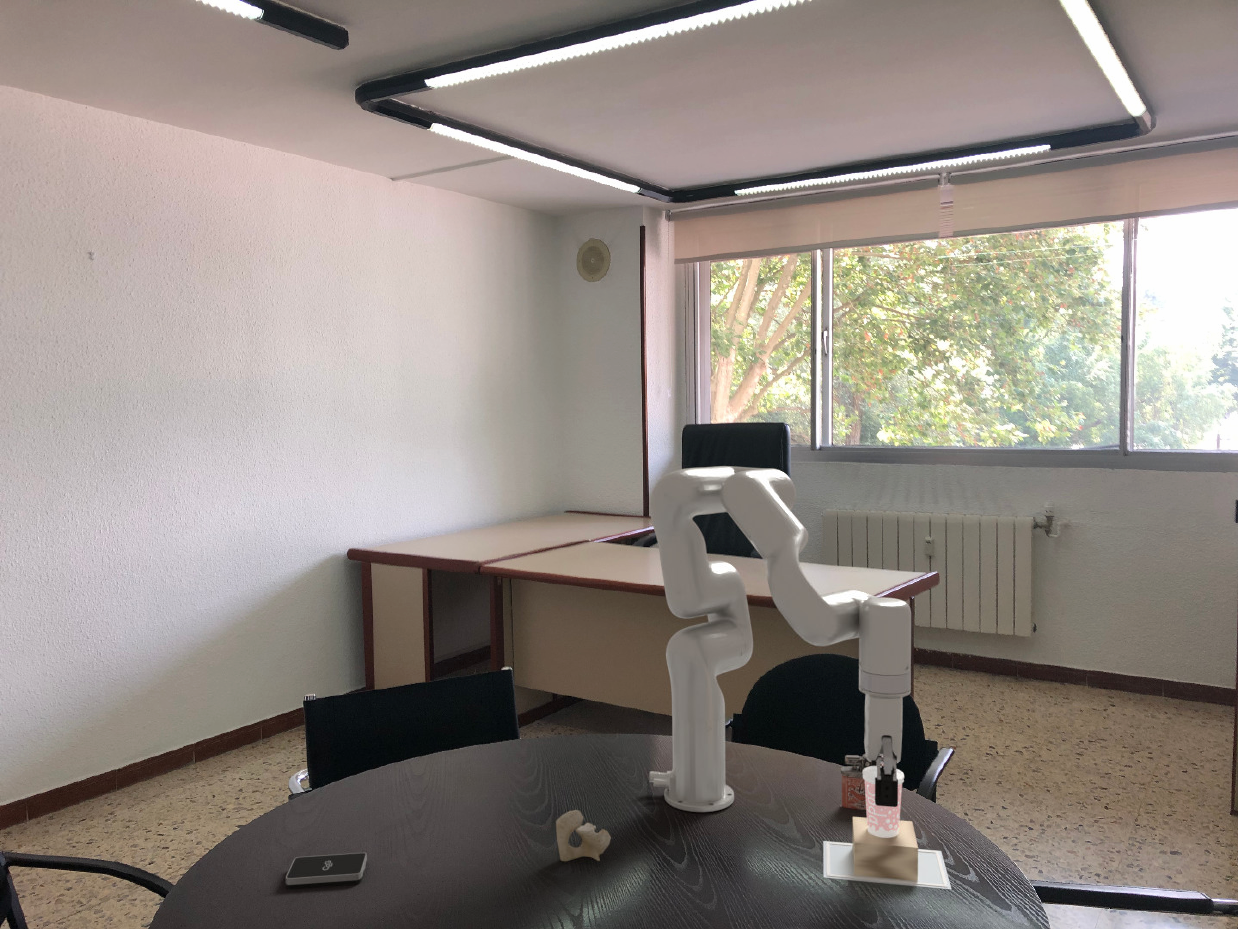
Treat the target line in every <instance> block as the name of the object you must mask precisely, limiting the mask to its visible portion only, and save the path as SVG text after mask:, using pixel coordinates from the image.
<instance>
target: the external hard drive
mask: <svg viewBox="0 0 1238 929" xmlns="http://www.w3.org/2000/svg"><path fill="white" fill-rule="evenodd" d="M367 857H368V856H367V852H351V853H338V854H325V855H322V854H321V855H310V856H309V855H308V856H307V855H306V856H297V857H295V858H294V859H293V861H292V863H291V865H290V867H289V869H288V872H287V873H286V876H285V887H286V889H288V890H295V889H297V890H298V889H311V888H322V887H323V888H325V887H335V886H339V887H340V886H350V885H352V886H353V885H359V884H361V882H362V880H363V877H364V874H365V870H366V866H367V862H368V858H367Z"/></svg>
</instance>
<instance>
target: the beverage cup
mask: <svg viewBox="0 0 1238 929" xmlns="http://www.w3.org/2000/svg"><path fill="white" fill-rule="evenodd" d="M882 757H883V756H882ZM882 766H883V764H882ZM882 766H881V767H882ZM896 771H897V779H898V806H897V807H889V806H877V805H876V804H875V777H877V766H870V767H867V768H865V769H864V770H863V779H864V780H865V796H866V810H865V811H866V818H867V829H868V832H869V833H870V834H872V835H874V836H878V837H883V838H890V837H895V836H897V835H898V834H899V821H901V808H902V806H901V805H902V803H901V802H902V792H903V789H902V788H903V783H904V782H905V780H904V779H905V774H904V772H903V771H902V770H900V769H898V768H896Z"/></svg>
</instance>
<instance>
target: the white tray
mask: <svg viewBox="0 0 1238 929" xmlns="http://www.w3.org/2000/svg"><path fill="white" fill-rule="evenodd" d="M822 842H823V843H822V844H823V846H822V847H823V848H822V849H823V851H822V852H823V858H822V859H823V860H822V861H823V863H822V865H823V878H824V879H834V880H845V881H856V882H864V883H865V882H867V883H876V884H877V883H879V884H885V885H886V884H887V885H888V884H889V885H898V886H899V885H900V886H911V887H920V888H921V887H922V888H931V889H943V890H951V891H952V885H951V882H950V879H949V875H948V871H947V868H946V864H945V861H944V856H943V853H942V850H933V849H921V848H918V881H911V880H900V879H890V878H879V877H868V876H857V875H854V861H853V842H852V843H851V842H842V841H841V842H840V841H838V842H837V841H828V840H823V841H822Z"/></svg>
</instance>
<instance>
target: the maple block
mask: <svg viewBox="0 0 1238 929" xmlns="http://www.w3.org/2000/svg"><path fill="white" fill-rule="evenodd" d="M916 836H917V835H916V833H915V827H914V823H913V821H911V820H900V821H899V834H898V835H897V836H895V837H890V838H883V837H878V836H874V835H872V834H870V833H869V832H868V829H867V817H861V816H860V817H859V816H852V843H853V861H854V875H857V876H868V877H879V878H890V879H900V880H911V881H918V849H919V847H918V846H919V845H918V841H917V837H916Z"/></svg>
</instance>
